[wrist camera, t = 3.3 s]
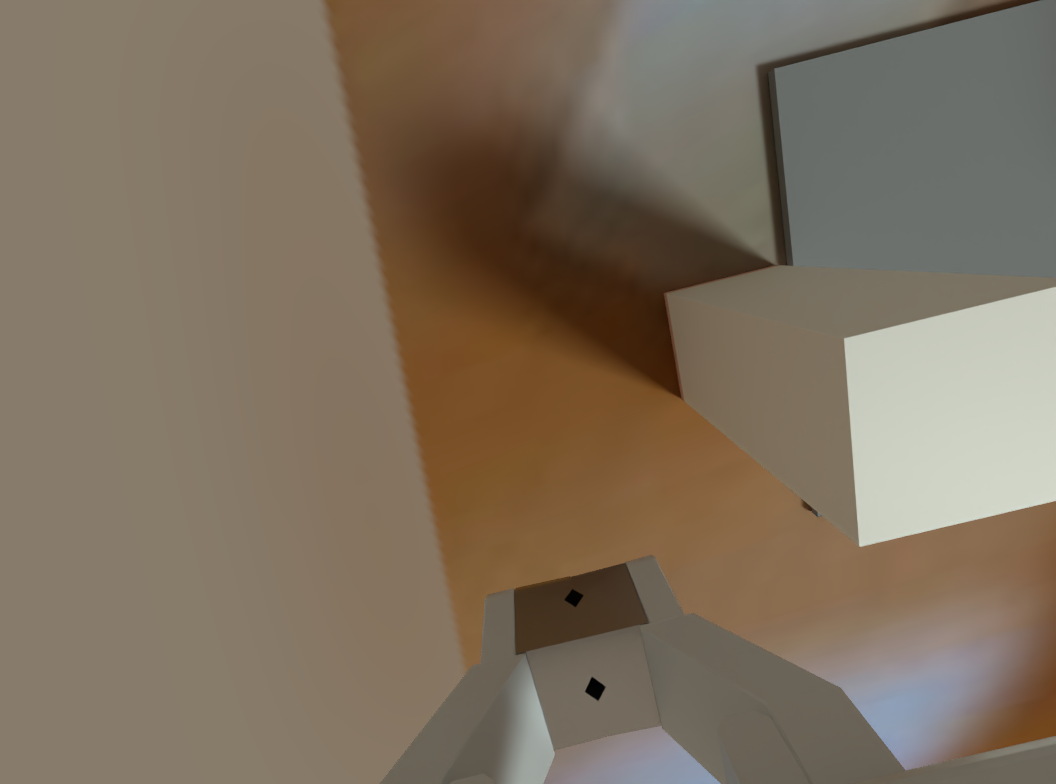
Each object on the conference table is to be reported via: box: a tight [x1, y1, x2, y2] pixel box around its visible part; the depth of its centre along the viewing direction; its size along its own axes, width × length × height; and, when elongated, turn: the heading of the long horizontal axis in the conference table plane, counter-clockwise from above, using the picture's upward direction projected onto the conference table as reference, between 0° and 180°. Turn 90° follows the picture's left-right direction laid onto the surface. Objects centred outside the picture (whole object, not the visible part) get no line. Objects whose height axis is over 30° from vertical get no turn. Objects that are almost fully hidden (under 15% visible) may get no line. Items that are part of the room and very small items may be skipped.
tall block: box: [664, 265, 1056, 547], centre depth 17 cm, size 5×5×12 cm
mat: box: [768, 0, 1056, 517], centre depth 22 cm, size 20×16×1 cm
